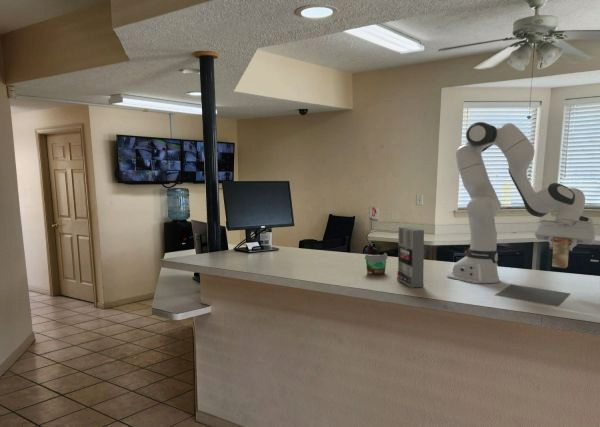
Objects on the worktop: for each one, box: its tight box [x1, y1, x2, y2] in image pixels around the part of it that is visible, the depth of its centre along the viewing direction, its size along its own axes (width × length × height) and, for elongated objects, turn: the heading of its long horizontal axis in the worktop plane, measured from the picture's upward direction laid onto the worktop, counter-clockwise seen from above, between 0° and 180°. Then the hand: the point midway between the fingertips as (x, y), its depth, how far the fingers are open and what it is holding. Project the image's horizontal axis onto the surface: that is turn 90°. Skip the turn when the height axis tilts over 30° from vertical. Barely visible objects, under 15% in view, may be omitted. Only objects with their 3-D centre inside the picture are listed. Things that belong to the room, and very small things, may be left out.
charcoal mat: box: [494, 284, 571, 307], centre depth 163 cm, size 22×22×1 cm
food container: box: [364, 252, 389, 277], centre depth 202 cm, size 12×6×10 cm, turn 114°
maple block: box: [551, 238, 570, 269], centre depth 162 cm, size 4×4×11 cm
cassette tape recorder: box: [396, 226, 425, 289], centre depth 183 cm, size 14×6×25 cm, turn 13°
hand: (560, 248), depth 161 cm, fingers closed on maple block, 4 cm apart
